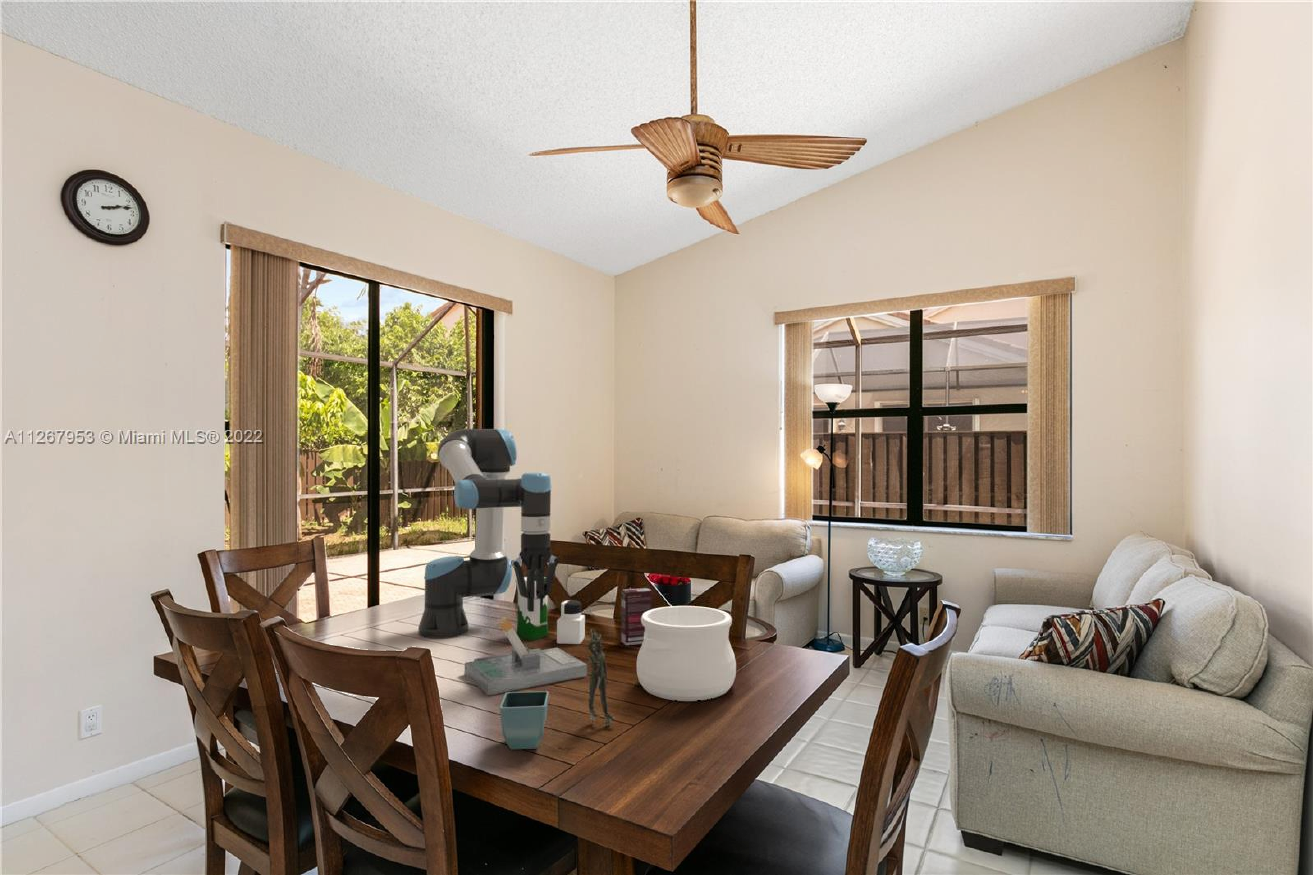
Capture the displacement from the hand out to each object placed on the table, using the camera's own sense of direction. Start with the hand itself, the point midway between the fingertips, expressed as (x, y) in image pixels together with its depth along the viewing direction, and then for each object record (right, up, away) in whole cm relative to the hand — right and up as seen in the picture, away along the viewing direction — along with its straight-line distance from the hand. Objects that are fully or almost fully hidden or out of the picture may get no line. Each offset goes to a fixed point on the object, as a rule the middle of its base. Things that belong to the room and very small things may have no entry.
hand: (535, 623), depth 179 cm
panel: (-2, -13, -2) cm, 13 cm away
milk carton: (-7, -14, +36) cm, 39 cm away
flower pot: (+6, -13, -43) cm, 45 cm away
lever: (-2, -8, -1) cm, 9 cm away
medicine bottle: (+6, -14, +31) cm, 34 cm away
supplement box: (+25, -14, +29) cm, 41 cm away
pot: (+39, -13, -10) cm, 42 cm away
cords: (-8, -13, +8) cm, 17 cm away
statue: (+20, -13, -34) cm, 41 cm away
